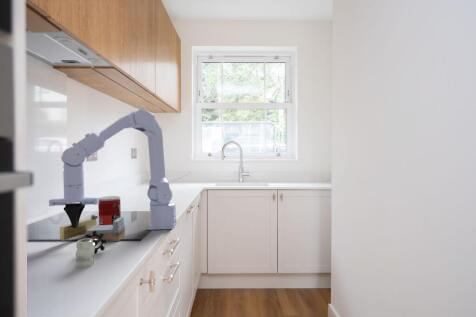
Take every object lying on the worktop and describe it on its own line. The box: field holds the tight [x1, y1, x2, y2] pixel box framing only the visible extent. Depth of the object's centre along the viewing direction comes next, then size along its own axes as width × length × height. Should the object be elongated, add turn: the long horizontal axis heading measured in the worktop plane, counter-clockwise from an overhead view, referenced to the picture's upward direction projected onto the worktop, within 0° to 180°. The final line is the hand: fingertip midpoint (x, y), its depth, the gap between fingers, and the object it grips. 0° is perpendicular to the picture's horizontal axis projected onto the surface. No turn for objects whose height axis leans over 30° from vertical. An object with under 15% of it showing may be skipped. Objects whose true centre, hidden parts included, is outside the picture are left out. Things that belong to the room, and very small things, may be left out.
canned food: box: [97, 195, 122, 225], centre depth 118 cm, size 8×8×11 cm
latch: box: [59, 214, 99, 241], centre depth 101 cm, size 2×14×5 cm, turn 160°
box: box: [85, 227, 126, 243], centre depth 101 cm, size 10×7×3 cm
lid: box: [85, 216, 126, 235], centre depth 101 cm, size 10×7×4 cm, turn 95°
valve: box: [75, 230, 108, 269], centre depth 81 cm, size 7×7×12 cm
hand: (75, 227), depth 97 cm, fingers closed
